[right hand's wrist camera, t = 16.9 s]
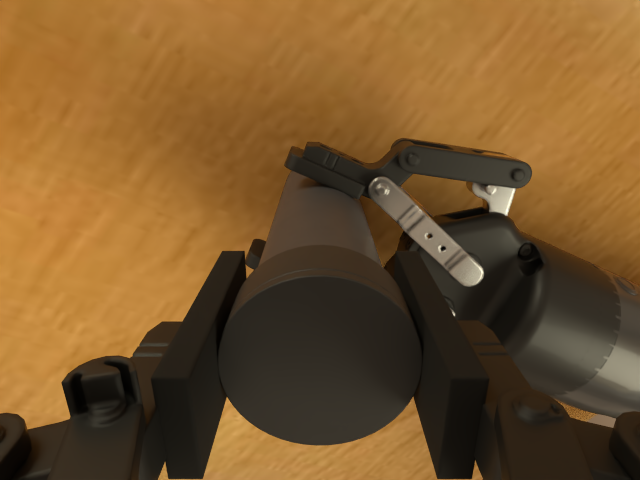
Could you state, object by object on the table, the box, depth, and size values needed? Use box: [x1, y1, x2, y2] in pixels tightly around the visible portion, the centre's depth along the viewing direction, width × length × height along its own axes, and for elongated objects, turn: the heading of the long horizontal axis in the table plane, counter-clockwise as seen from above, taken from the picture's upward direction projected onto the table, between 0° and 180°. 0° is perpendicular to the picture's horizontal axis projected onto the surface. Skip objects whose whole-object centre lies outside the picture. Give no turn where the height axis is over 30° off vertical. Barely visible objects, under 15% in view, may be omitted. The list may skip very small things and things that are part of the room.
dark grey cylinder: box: [259, 171, 382, 266], centre depth 19 cm, size 4×4×17 cm
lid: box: [217, 245, 423, 445], centre depth 12 cm, size 5×5×2 cm
